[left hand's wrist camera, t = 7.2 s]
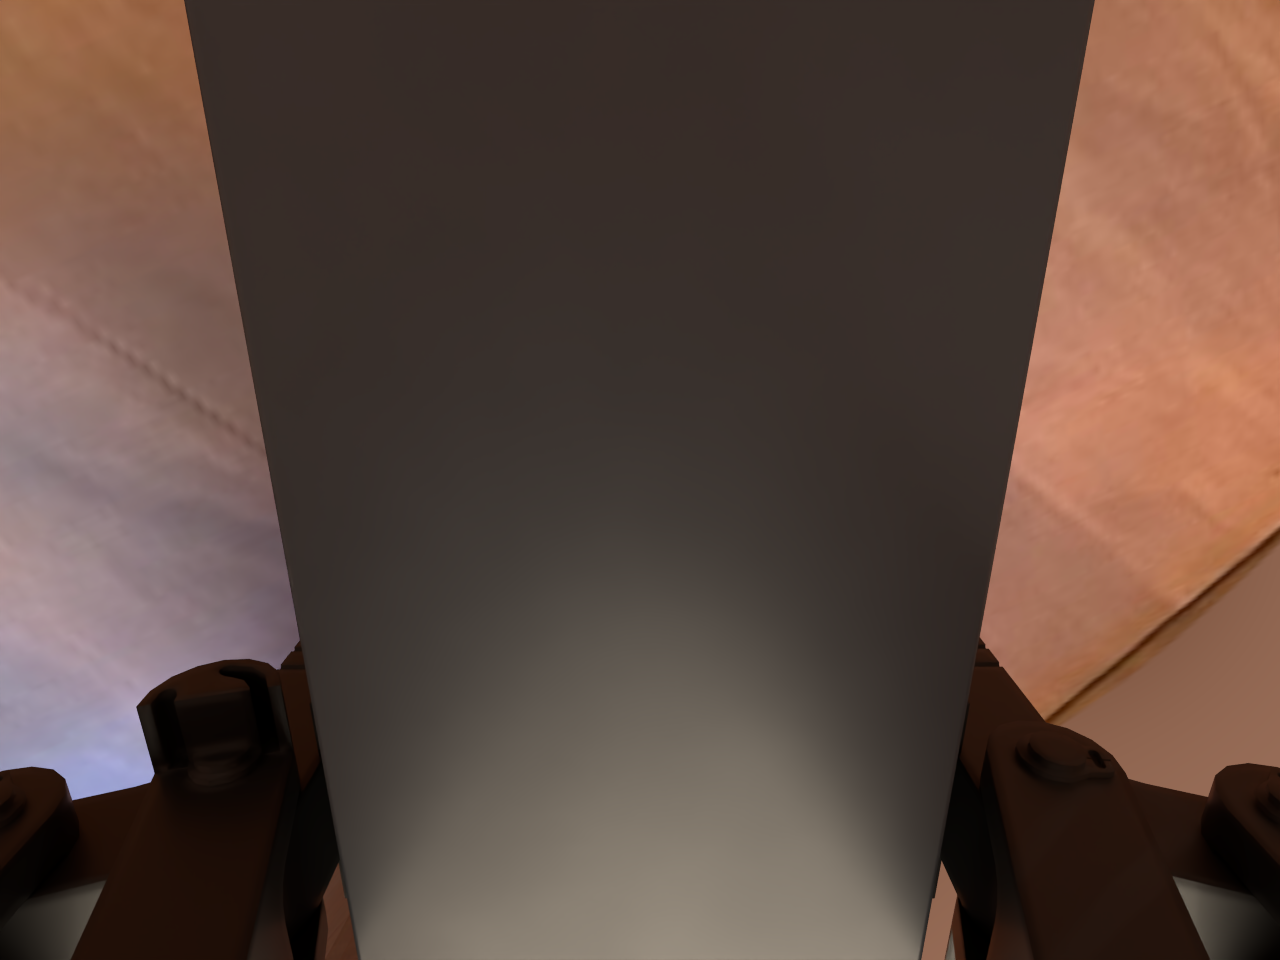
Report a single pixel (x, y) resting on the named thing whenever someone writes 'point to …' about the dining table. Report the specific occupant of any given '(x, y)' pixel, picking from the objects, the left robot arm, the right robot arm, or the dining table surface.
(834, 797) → the bar
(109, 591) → the dining table surface
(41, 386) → the dining table surface
